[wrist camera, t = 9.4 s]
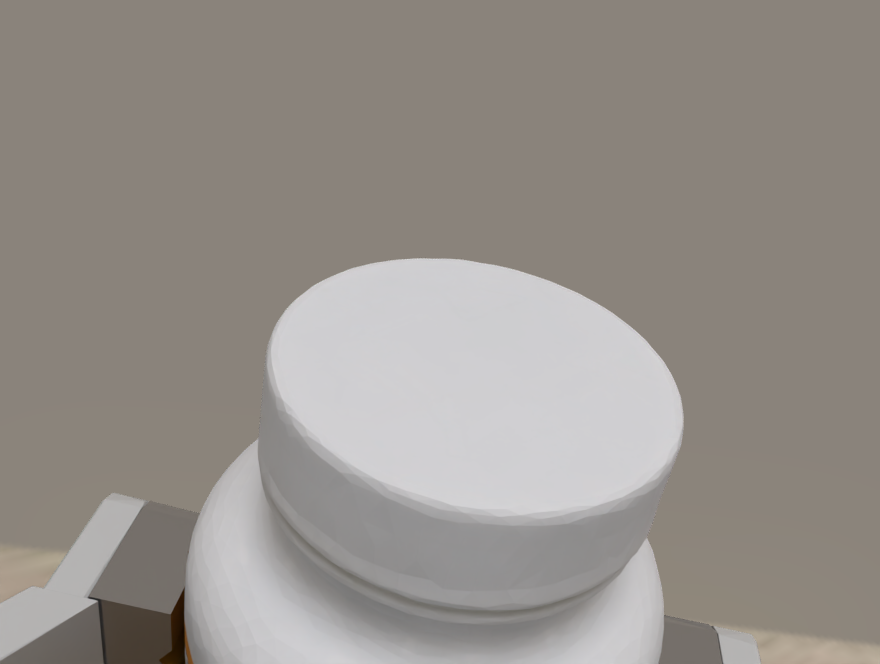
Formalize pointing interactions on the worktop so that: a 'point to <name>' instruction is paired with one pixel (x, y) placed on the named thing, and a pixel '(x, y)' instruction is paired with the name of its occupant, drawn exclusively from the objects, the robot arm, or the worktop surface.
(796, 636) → the worktop surface
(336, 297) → the supplement bottle
